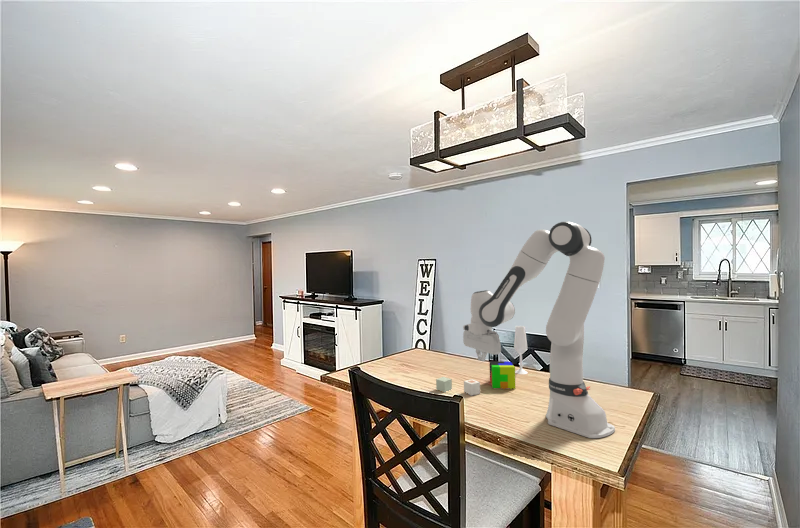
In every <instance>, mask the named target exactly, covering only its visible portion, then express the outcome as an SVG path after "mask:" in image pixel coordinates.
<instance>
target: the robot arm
mask: <svg viewBox="0 0 800 528" xmlns="http://www.w3.org/2000/svg"><path fill="white" fill-rule="evenodd" d="M592 241H593V240H592V235H591V233H590V232H589V230H588V229H586V228H585V227H583V226H582V225H581V224H578V223H575V222H572V221H566V220H565V221H561V222H558V223H556V224H554V225H553V226H552V227H551V228H550V229H549V230H547V229H537V230H535V231H534V232H533V233H532V234H531V235H530V236H529V238H528V239H527V240H526V242H525V243H524V245H523V246H522V247H521V249H520V250H519V253H518V254H517V255H516V258H515V259H514V262H513V264H512V265H511V267H510V268H509V270H508V272H507V274H506V275H505V277H504V278H503V279H502V281H501V282H500V284H499V285H498V287H497V289H496V290H495V291H494V293H492V291H490V290H487V289H486V290H479V291H475V292H473V293H472V295H471V299H470V313H471V318H470V323H468V324H464V325H463V326H462V329H463V334H462V335H463V336H462V338H463V339H462V340H463V342H462V343H463V345H464V347H466V348H467V347H468V348H471V349H473V350H475V353H476V356H477V360H478V361H480V362H486V357H487V355H488V354H490V355H500V354H501V352H502V345H501V339H500V335H499V334H498V332H497V331H494V330H493V328H495V327H498V326H500V325H501V324H504V323H506V322H509V321H510V320H512V319H513V318H514V317H515V313H516V309H515V305H514V304H513V302H512V301H511V299H512V298H513V296H514V295H515V294H516V292H517V291H518V290H519V289H520V287H522V286H524V284H525V285H526V283H528V282H530V281H532V280H534V279H535V278H537V277H538V276H539V275H540V274H541V272H542V271H543V270H544V269H545V267H546V266H547V265H548V263H549V261H550V259H551V258H552V256H554V255H555V254H556V253H557V252H559V253H561V254H562V255H564V256H566V257H569V265H568V267H567V270H566V273H565V276H564V278H563V279H564V280H563V282H562V284H561V288H560V291H559V292H558V293H559V294H558V296H557V299H556V301H555V303H554V305H553V307H552V310H551V312H550V315H549V317H548V320H547V322H546V325H545V326H546V327H545V334H546V337H547V339H548V340H549V341H550V342H551V345H550V355H549V377H548V378H549V379H548V389H549V397H548V399H549V400H548V406H547V411H546V414H545V418H546V419H547V424H548V425H550V426H553V427H557V428H559V429H562V430H565V431H568V432H571V433H573V434H577V435H580V436H582V437H586V438H588V439H599V438H600V439H601V438H604V437H608V436H611V435H612V434H614V432H615V431H616V427H615V425H613V424H611V423H609V422H608V419H607V414H606V411H605V410H604V409H603V407H602V406H600V405H599V404H598V402H596V400H595V399H594V398H592V396H590V394H589V392H588V391H589V390H591V386H586V383H585V381H584V366H583V365H584V362H583V361H584V344H585V343H584V340H585V339H584V338H585V336H584V335H585V322H586V319H587V316H588V315H589V311H590V308H591V306H592V304H593V301H594V298H595V296H596V294H597V290H598V289H599V288H598V287H599V284H600V281H601V278H602V276H603V271H604V267H605V254H604V253H603V252H602V251H601V250H600V249H598V248H596V247H592V246H591V245H592Z"/></svg>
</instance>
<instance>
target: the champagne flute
mask: <svg viewBox="0 0 800 528" xmlns="http://www.w3.org/2000/svg"><path fill="white" fill-rule="evenodd" d="M514 329H515V331H514V344H513V345H514V346H513V349H514V350H515V351H516V353H518V354H519V368H518V369H515V374H518V375H527V374H528V371H527V370H525V369H523V354H525V352H526V351H527V350H528V342H527V334H526V327H525V326H524V325H515V328H514Z"/></svg>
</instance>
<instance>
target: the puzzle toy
mask: <svg viewBox="0 0 800 528" xmlns="http://www.w3.org/2000/svg"><path fill="white" fill-rule="evenodd" d="M515 371H516V367H515V366H514V364H513V362H511V361H508V360H507V361H503V360H501V361H500V360H499V361H498V360H497V361H496V360H495V361H489V382H490V385H491V388H492V389H493V388H503V389H502V390H506V389H505V388H510V389H509V390H515V389H516V373H515ZM512 388H513V389H512ZM514 388H515V389H514Z"/></svg>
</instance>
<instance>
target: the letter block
mask: <svg viewBox="0 0 800 528" xmlns="http://www.w3.org/2000/svg"><path fill="white" fill-rule="evenodd" d="M463 392H464V393H465V392H466V393H465V394H467V393H468V394H467V395H468V396H476V395H479V394H481V382H480V381H477V380H476V379H467V380H463Z"/></svg>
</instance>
